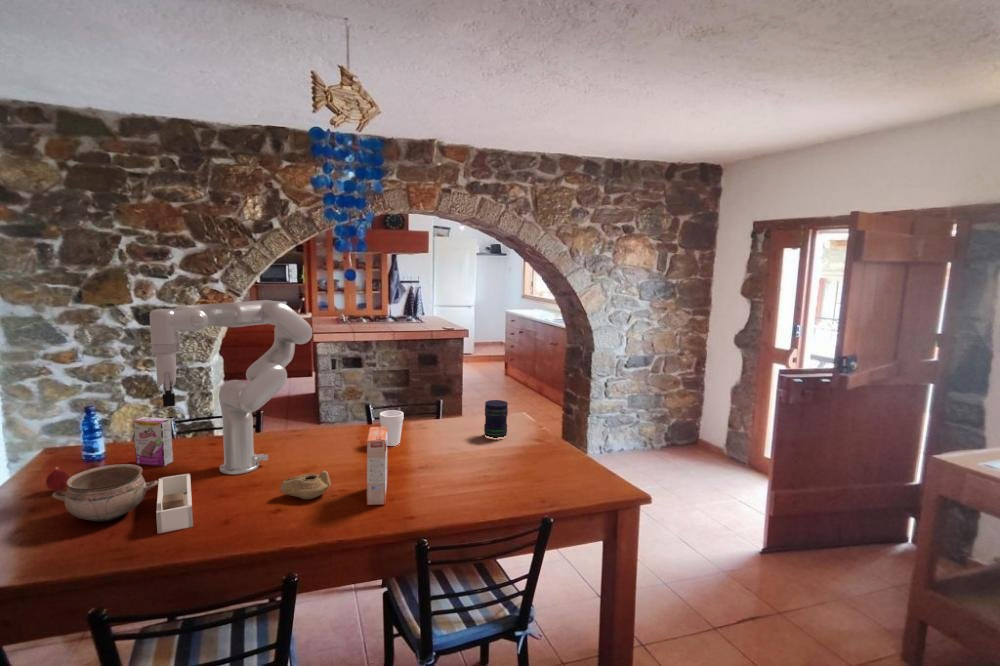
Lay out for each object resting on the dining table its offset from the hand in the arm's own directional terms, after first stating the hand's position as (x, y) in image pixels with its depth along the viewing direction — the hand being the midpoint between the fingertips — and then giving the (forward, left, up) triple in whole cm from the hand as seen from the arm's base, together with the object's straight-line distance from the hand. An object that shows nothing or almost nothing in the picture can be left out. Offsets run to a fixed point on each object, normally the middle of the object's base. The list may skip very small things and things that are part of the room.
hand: (169, 405), depth 173 cm
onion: (+31, -12, -27) cm, 43 cm away
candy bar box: (+6, -26, -27) cm, 38 cm away
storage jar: (-119, +2, -27) cm, 122 cm away
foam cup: (-76, -8, -27) cm, 81 cm away
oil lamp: (-36, +26, -27) cm, 52 cm away
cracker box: (-56, +36, -27) cm, 72 cm away
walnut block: (0, +28, -24) cm, 37 cm away
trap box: (0, +20, -27) cm, 34 cm away
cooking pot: (+16, +14, -27) cm, 35 cm away
